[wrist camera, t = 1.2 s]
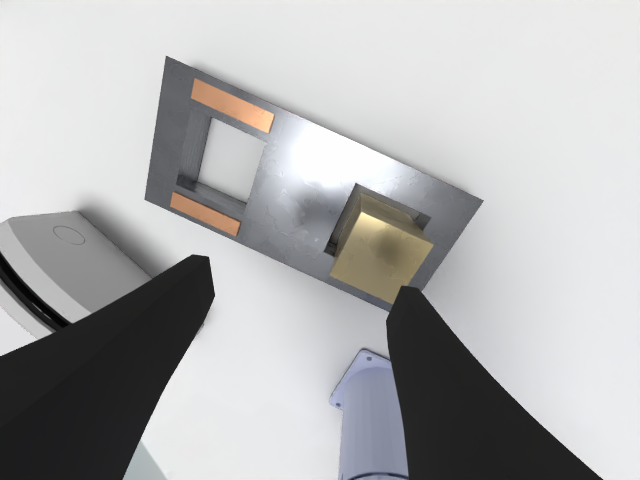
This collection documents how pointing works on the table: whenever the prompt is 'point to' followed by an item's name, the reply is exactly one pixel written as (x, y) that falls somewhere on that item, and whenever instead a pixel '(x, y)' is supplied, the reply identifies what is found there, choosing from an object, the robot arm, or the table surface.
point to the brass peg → (379, 249)
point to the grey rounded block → (60, 271)
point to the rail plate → (287, 179)
